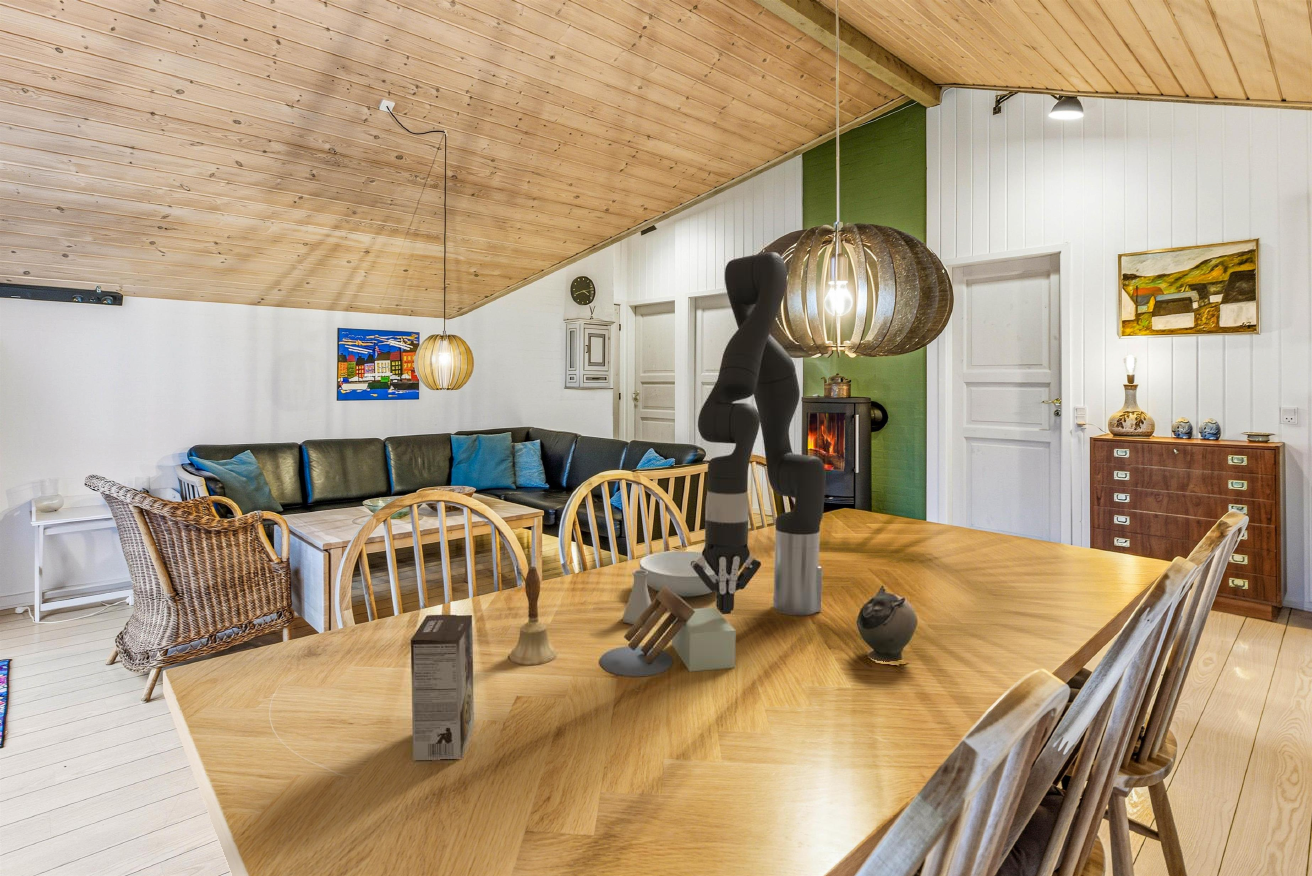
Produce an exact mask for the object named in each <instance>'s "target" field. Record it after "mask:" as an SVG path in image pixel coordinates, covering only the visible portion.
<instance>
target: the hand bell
mask: <svg viewBox="0 0 1312 876" xmlns="http://www.w3.org/2000/svg"><path fill="white" fill-rule="evenodd" d="M524 580H525V581H524V582H525V583H524V588H525V589H524V590H525V594H526V598H527V603H528V610H527V611H528V614H527V616H528V621H527V622H525V623H523V624H522V625H521V627H520V631H519V636H518V641H517V643H516V645H515V647H514V648H513V649H512V650H511V651H510V653H509V656H508V657H509V659H510V661H512V662H514V663H515V664H518V665H523V666H538V665H539V666H540V665H544V664H547V663H550V662H552V661H553V660H555V659H556V658H557V655H558V651H557V650H556V648H555V647H554V646H553V645H552V644H551V642H550V640H549V637H548V631H547V625H546V624H545V623H543V622H540V621H539V607H538V602H539V597H540V593H541V580H540V576H539V572H538V570H537V567H536V566H529V567H528V570H527V573H526V576H525V579H524Z"/></svg>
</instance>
